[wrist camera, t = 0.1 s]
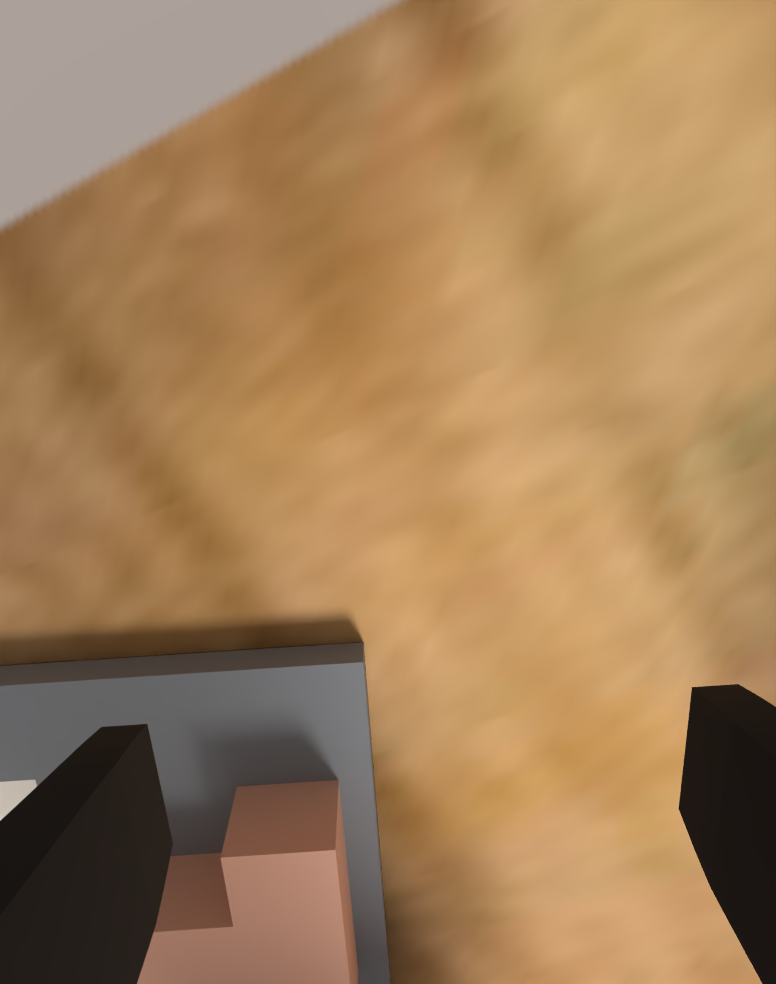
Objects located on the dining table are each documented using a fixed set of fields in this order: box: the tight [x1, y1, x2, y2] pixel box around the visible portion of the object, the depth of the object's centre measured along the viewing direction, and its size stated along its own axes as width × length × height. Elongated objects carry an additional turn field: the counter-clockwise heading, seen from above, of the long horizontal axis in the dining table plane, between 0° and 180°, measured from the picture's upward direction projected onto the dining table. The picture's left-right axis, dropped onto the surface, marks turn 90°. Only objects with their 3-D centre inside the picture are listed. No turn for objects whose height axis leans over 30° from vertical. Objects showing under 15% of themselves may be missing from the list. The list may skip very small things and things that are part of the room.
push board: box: [0, 642, 391, 984], centre depth 22 cm, size 16×20×1 cm
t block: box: [137, 780, 358, 984], centre depth 21 cm, size 8×8×2 cm
